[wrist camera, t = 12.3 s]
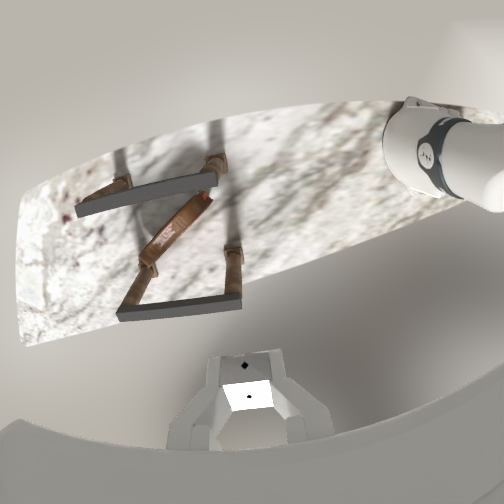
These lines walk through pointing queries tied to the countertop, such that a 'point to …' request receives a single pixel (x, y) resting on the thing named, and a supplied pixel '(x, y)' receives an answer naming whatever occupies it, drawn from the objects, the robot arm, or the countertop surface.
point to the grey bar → (148, 192)
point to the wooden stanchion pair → (143, 278)
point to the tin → (175, 227)
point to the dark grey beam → (180, 308)
